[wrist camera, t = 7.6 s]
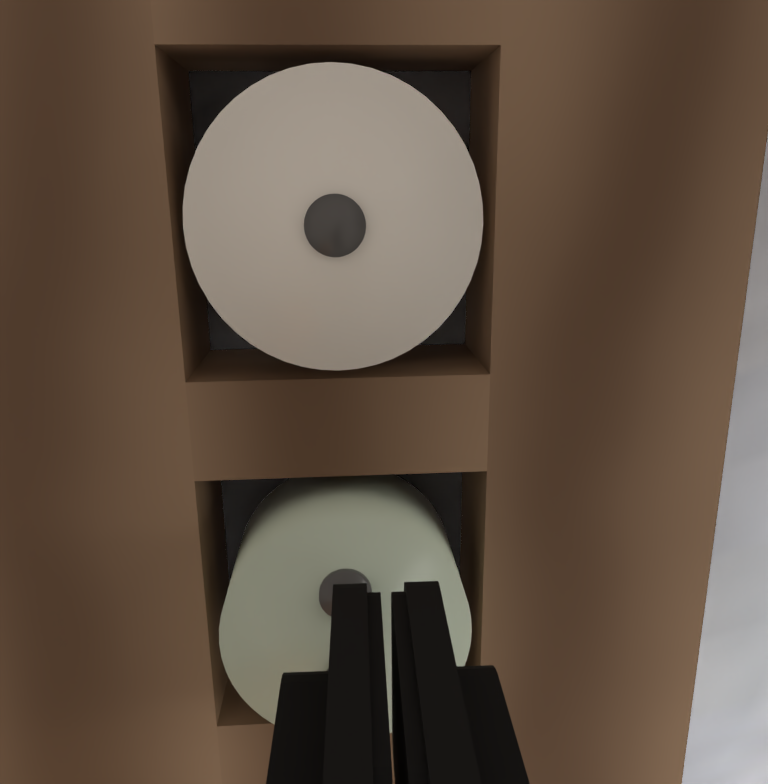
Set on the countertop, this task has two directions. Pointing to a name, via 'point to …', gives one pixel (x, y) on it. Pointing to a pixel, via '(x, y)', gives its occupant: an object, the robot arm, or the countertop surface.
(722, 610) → the countertop surface
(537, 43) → the button panel
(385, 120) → the one pip button
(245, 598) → the two pip button
